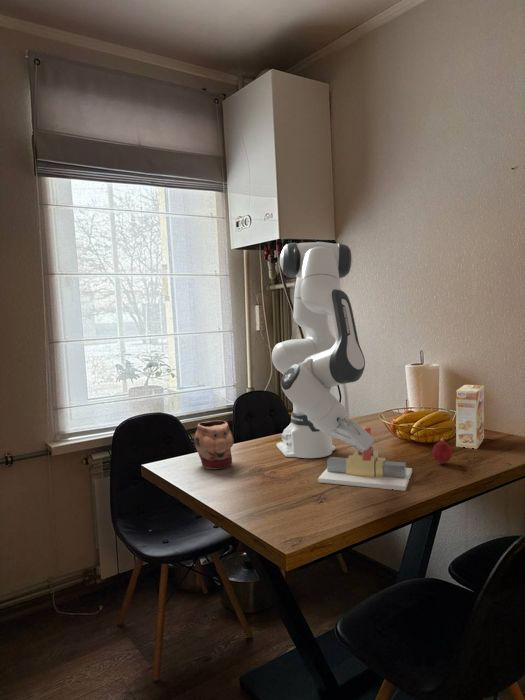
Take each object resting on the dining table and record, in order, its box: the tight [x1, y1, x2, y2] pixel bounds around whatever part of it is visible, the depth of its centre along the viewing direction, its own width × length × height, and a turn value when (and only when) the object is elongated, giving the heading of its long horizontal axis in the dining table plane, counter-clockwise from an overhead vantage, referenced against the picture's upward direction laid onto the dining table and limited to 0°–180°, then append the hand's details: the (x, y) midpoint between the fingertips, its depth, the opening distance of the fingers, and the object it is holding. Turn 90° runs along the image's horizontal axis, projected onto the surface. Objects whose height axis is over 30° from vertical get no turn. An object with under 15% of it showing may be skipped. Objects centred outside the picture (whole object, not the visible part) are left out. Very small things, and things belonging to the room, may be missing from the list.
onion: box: [431, 437, 453, 465], centre depth 159 cm, size 6×6×8 cm
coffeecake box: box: [455, 384, 485, 450], centre depth 181 cm, size 15×7×20 cm, turn 148°
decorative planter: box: [193, 420, 235, 470], centre depth 168 cm, size 20×12×14 cm, turn 28°
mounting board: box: [317, 467, 413, 492], centre depth 150 cm, size 24×16×1 cm, turn 68°
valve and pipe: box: [326, 449, 407, 478], centre depth 150 cm, size 22×6×7 cm, turn 68°
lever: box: [358, 426, 374, 461], centre depth 145 cm, size 13×4×9 cm, turn 171°
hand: (361, 449), depth 139 cm, fingers closed, pressing on lever
